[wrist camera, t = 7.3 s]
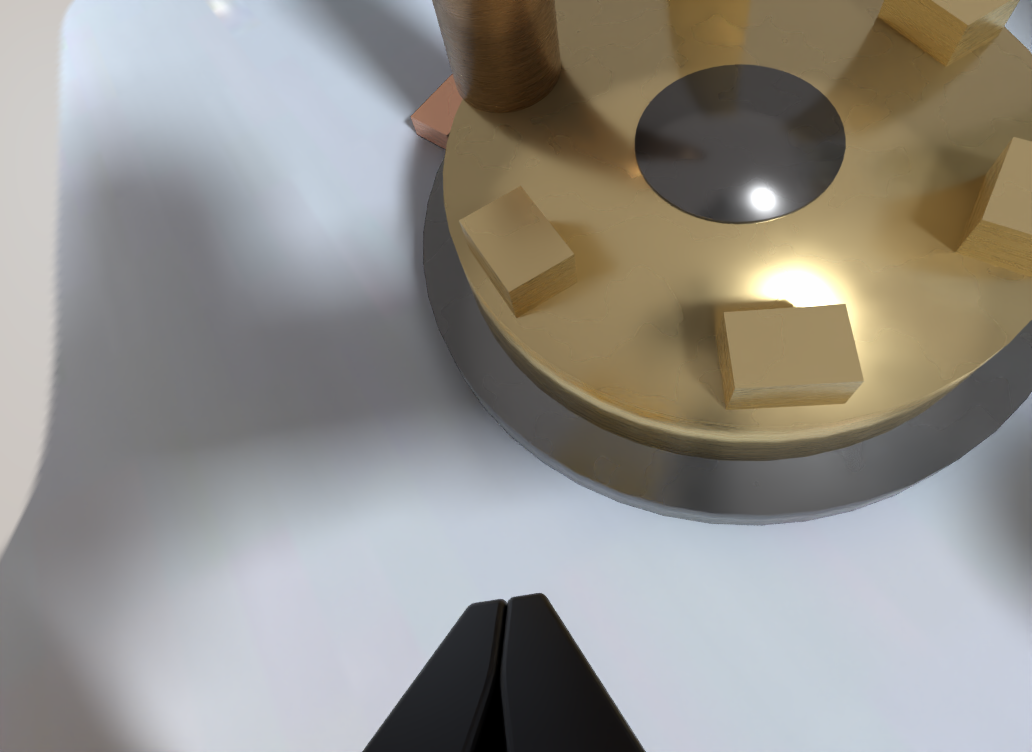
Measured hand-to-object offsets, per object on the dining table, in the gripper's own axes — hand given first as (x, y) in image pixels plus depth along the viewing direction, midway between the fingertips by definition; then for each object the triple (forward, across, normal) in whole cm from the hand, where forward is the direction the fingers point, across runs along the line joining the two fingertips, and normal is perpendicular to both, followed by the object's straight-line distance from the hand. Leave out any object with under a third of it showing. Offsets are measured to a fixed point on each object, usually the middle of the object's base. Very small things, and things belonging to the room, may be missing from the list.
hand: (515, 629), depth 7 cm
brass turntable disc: (+17, -7, -2) cm, 19 cm away
